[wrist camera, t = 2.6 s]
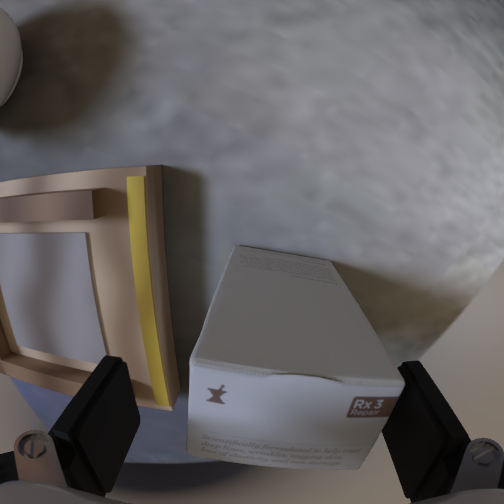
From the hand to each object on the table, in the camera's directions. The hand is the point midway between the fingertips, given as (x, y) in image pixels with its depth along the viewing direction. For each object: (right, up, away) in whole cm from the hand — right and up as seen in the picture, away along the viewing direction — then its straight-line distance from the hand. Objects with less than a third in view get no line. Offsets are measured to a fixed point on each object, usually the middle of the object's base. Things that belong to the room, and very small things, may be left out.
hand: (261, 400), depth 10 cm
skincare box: (+1, +3, +10) cm, 10 cm away
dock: (-14, +3, +11) cm, 18 cm away
